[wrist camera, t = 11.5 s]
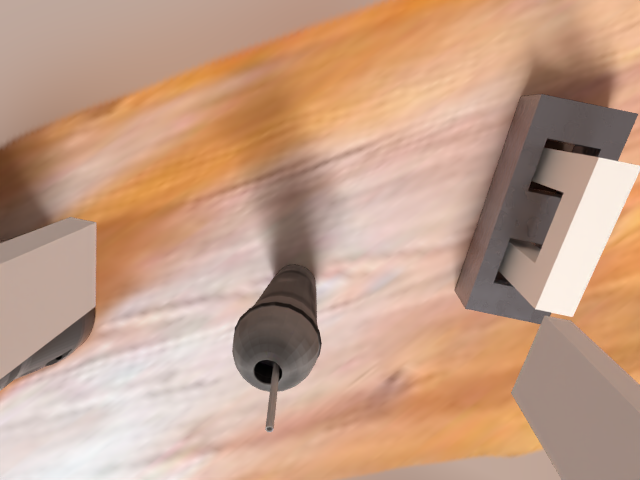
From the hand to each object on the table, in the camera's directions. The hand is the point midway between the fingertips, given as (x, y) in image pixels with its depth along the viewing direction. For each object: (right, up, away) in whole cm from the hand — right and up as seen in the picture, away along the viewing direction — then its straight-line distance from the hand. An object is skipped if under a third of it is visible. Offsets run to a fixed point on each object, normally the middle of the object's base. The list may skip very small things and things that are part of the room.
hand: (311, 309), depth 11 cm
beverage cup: (-2, -3, +32) cm, 32 cm away
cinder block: (+21, +5, +27) cm, 34 cm away
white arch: (+21, +5, +27) cm, 34 cm away
